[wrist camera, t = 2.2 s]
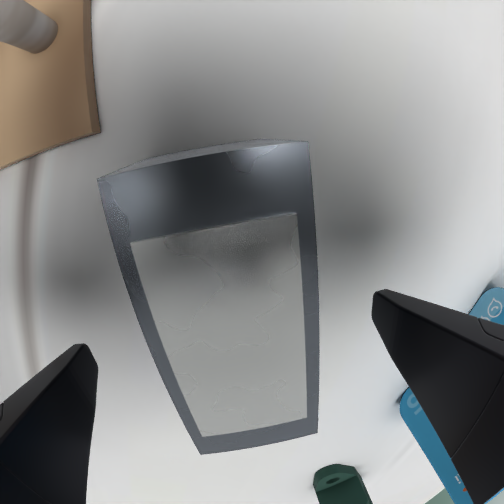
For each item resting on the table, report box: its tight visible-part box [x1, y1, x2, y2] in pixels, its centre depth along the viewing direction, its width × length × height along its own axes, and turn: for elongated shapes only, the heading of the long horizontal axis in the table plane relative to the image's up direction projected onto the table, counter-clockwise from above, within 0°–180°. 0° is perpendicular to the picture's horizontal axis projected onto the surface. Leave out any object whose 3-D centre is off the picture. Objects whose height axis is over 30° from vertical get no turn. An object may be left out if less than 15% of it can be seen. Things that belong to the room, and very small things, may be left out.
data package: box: [400, 287, 504, 504], centre depth 13 cm, size 12×4×12 cm, turn 147°
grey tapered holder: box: [97, 139, 319, 455], centre depth 10 cm, size 4×10×6 cm, turn 7°
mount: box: [313, 464, 373, 504], centre depth 22 cm, size 11×4×5 cm, turn 27°
